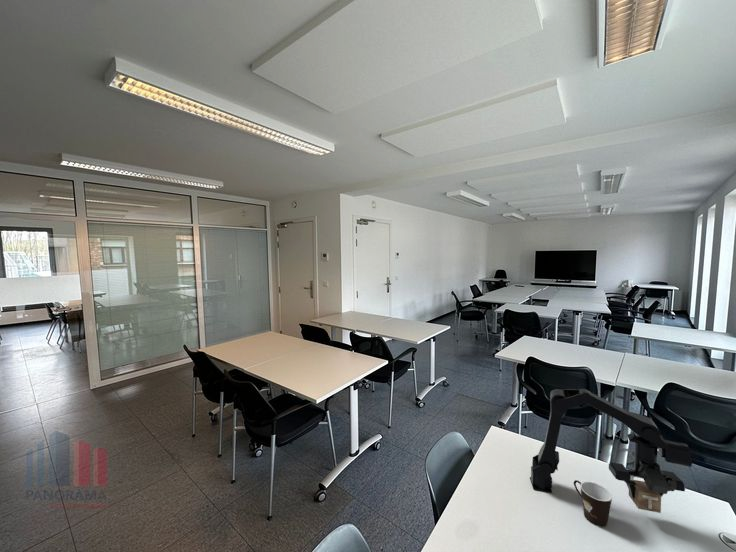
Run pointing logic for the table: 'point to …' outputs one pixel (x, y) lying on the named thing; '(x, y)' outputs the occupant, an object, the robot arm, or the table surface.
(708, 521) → the table surface
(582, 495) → the coffee mug
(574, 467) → the table surface
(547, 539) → the table surface
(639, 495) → the walnut letter cube
